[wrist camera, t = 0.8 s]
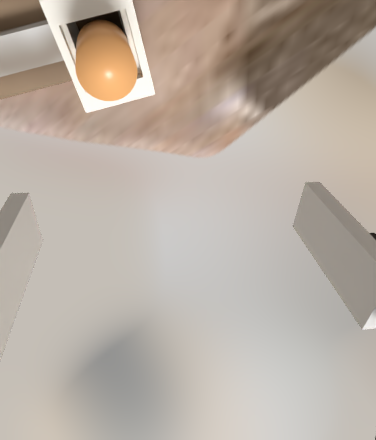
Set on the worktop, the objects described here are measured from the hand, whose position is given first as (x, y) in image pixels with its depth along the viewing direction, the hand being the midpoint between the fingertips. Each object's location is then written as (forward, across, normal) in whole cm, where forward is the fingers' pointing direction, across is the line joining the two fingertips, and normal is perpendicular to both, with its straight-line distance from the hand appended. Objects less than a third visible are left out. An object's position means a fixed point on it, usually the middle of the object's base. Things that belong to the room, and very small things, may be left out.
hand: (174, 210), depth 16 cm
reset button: (+16, -4, +5) cm, 17 cm away
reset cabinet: (+23, -5, +6) cm, 24 cm away
